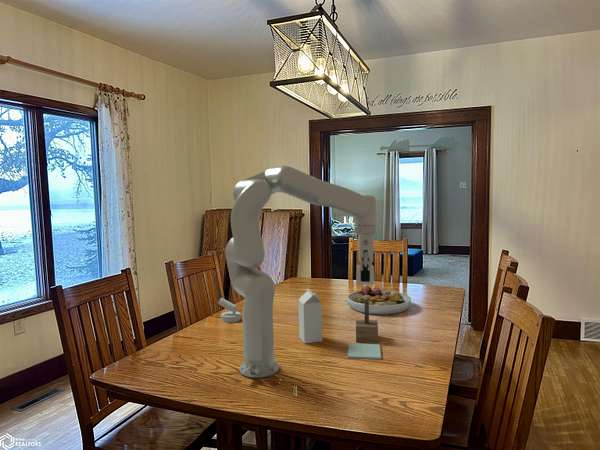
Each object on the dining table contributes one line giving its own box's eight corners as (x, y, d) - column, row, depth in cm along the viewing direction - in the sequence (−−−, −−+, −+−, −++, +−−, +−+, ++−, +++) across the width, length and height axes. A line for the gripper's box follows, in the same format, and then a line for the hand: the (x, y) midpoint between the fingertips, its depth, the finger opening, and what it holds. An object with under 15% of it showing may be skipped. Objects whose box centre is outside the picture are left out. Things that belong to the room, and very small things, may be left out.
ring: (373, 284, 149) (373, 268, 149) (356, 284, 150) (356, 267, 149) (373, 281, 155) (373, 265, 155) (356, 280, 156) (356, 264, 155)
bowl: (424, 311, 193) (424, 294, 193) (367, 320, 182) (367, 302, 182) (387, 296, 221) (387, 282, 220) (336, 303, 210) (336, 288, 209)
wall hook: (223, 295, 192) (243, 296, 188) (224, 315, 192) (244, 317, 189) (213, 300, 184) (234, 301, 180) (214, 321, 184) (235, 323, 181)
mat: (381, 359, 140) (381, 357, 140) (347, 357, 141) (347, 356, 141) (379, 345, 152) (379, 344, 152) (349, 344, 153) (349, 343, 153)
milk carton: (304, 344, 155) (303, 293, 153) (299, 337, 162) (298, 289, 160) (322, 341, 157) (321, 291, 155) (316, 335, 164) (316, 287, 162)
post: (378, 342, 155) (377, 302, 153) (356, 342, 156) (355, 302, 155) (377, 335, 163) (377, 297, 161) (356, 334, 164) (356, 296, 162)
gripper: (377, 232, 142) (376, 284, 143) (374, 227, 159) (374, 275, 160) (354, 232, 143) (354, 284, 144) (354, 227, 160) (354, 274, 161)
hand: (365, 279), depth 152 cm, fingers closed on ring, 6 cm apart
